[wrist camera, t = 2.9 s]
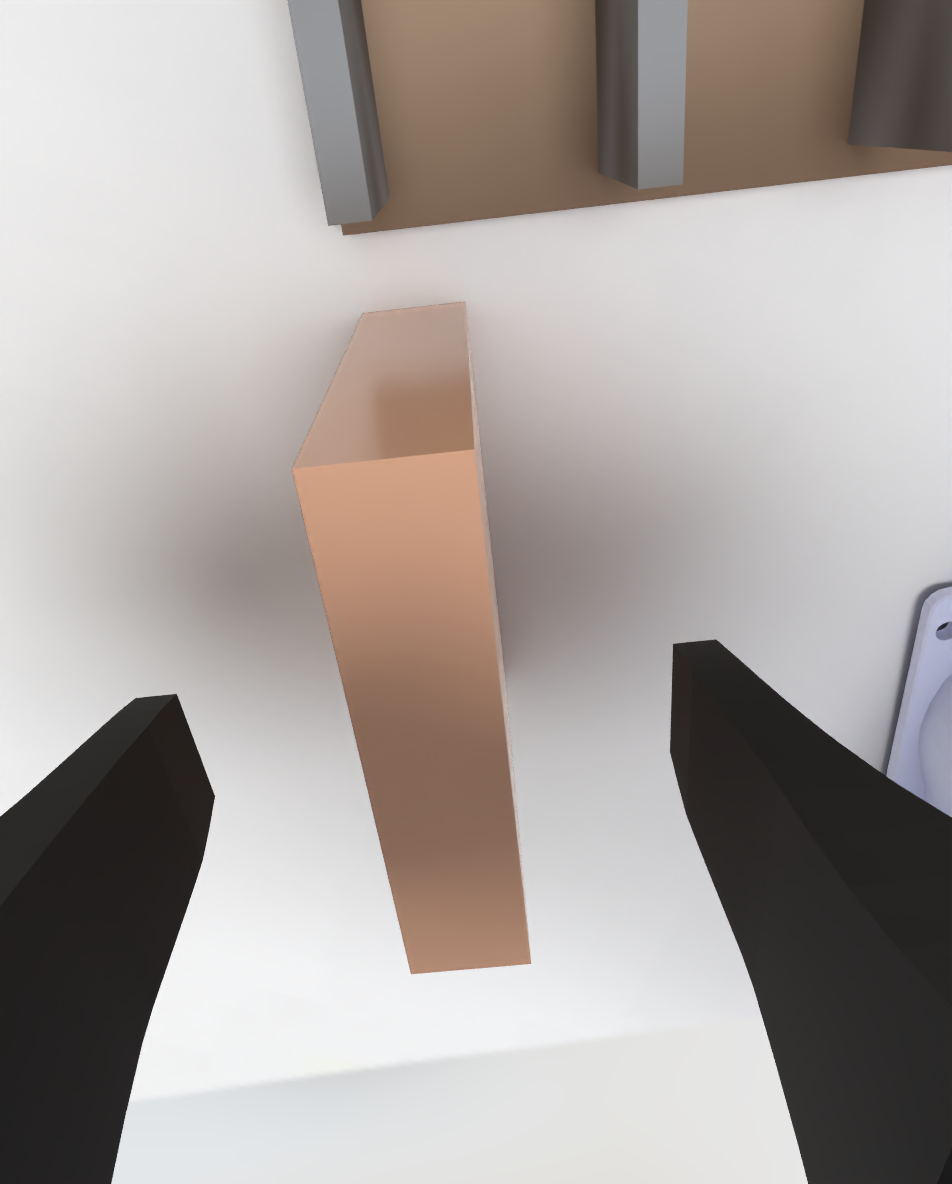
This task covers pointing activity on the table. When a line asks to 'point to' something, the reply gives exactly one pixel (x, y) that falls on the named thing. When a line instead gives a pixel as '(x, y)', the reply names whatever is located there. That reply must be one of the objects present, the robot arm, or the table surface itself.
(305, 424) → the table surface
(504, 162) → the dish rack
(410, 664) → the peach rectangular slab
